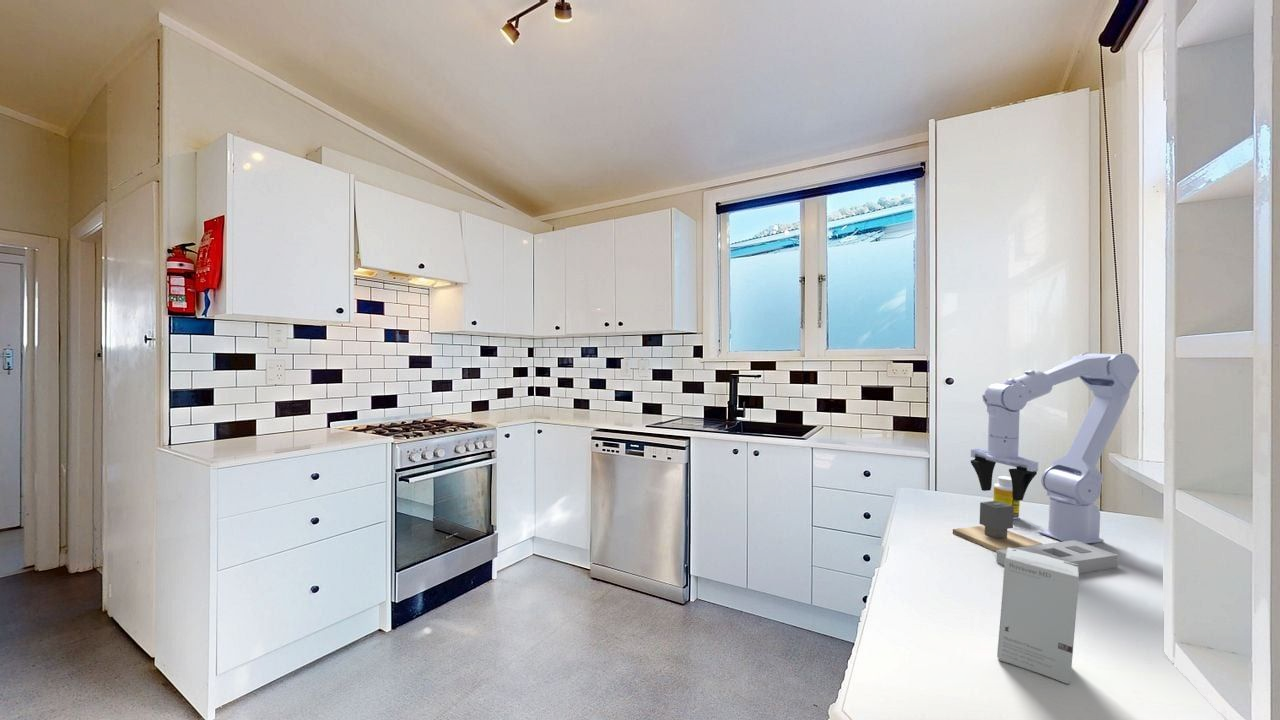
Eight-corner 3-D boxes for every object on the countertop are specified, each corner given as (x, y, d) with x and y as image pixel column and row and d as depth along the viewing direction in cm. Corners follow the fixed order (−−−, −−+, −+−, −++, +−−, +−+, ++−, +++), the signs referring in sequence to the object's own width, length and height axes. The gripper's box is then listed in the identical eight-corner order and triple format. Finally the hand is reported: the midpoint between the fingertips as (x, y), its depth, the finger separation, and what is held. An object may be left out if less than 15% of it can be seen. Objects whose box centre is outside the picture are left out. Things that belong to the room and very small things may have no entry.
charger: (995, 532, 118) (996, 500, 118) (1012, 538, 114) (1013, 505, 114) (979, 534, 117) (980, 502, 116) (995, 540, 113) (996, 507, 113)
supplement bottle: (1013, 521, 128) (1015, 481, 128) (989, 515, 133) (990, 476, 132) (1022, 517, 131) (1024, 478, 131) (998, 511, 136) (999, 474, 135)
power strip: (1074, 551, 110) (1074, 537, 110) (1117, 567, 102) (1118, 552, 102) (996, 562, 104) (996, 547, 104) (1036, 579, 96) (1036, 563, 96)
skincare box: (996, 660, 71) (1000, 557, 71) (1001, 641, 76) (1004, 544, 75) (1075, 687, 66) (1079, 575, 65) (1074, 665, 71) (1078, 560, 70)
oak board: (991, 528, 123) (991, 524, 123) (1042, 548, 111) (1042, 543, 111) (952, 533, 120) (952, 529, 120) (1000, 553, 108) (1001, 549, 108)
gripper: (961, 431, 121) (959, 487, 122) (1021, 443, 107) (1019, 506, 108) (984, 430, 123) (982, 485, 124) (1046, 441, 109) (1044, 503, 110)
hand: (1001, 495), depth 116 cm, fingers open, 7 cm apart
